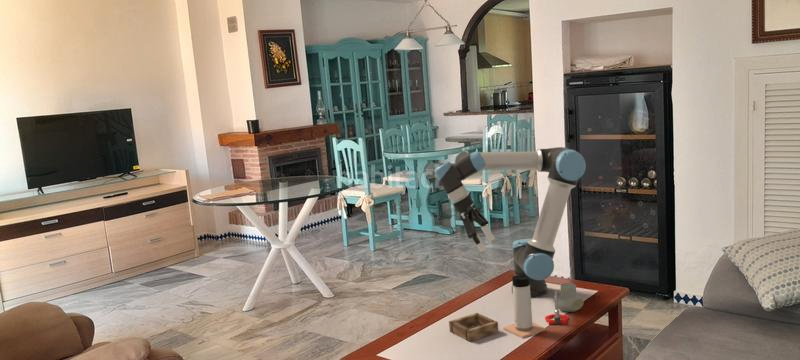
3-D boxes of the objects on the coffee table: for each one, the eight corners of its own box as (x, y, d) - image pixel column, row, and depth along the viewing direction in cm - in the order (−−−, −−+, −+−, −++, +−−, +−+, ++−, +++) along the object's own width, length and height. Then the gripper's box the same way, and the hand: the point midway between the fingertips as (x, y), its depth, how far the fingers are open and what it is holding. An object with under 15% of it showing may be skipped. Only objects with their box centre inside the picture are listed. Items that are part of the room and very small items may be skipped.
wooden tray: (477, 322, 249) (476, 312, 248) (498, 332, 237) (497, 322, 237) (449, 331, 243) (448, 321, 242) (469, 341, 231) (468, 331, 231)
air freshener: (570, 303, 260) (569, 279, 258) (587, 308, 253) (585, 283, 252) (551, 310, 254) (550, 286, 252) (568, 315, 247) (566, 290, 246)
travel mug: (511, 329, 237) (507, 277, 234) (521, 323, 242) (517, 272, 238) (526, 332, 233) (522, 279, 230) (535, 326, 237) (532, 274, 234)
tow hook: (544, 317, 249) (546, 325, 240) (542, 284, 248) (544, 291, 239) (566, 316, 248) (569, 324, 239) (565, 283, 246) (567, 290, 237)
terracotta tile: (526, 321, 245) (526, 319, 245) (545, 330, 235) (545, 328, 235) (503, 329, 240) (503, 327, 240) (522, 338, 230) (522, 336, 230)
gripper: (462, 195, 268) (487, 239, 268) (443, 211, 245) (471, 259, 245) (476, 187, 265) (503, 232, 264) (459, 202, 242) (487, 251, 242)
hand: (487, 245), depth 255 cm, fingers open, 13 cm apart
